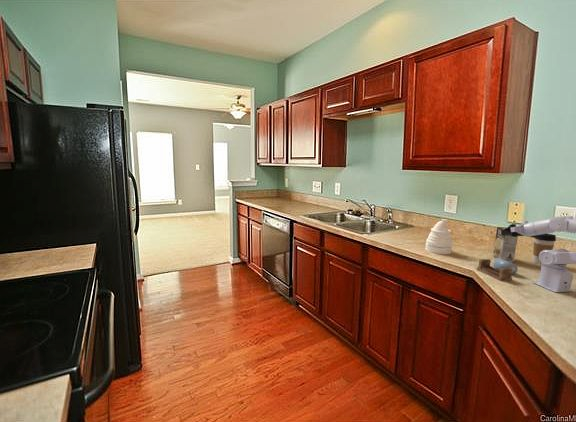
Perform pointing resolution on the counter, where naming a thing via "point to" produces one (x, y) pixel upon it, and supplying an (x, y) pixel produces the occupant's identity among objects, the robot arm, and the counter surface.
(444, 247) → the honey pot
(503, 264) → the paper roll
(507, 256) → the coffee box
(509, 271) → the roll cradle
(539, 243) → the coffee cup
